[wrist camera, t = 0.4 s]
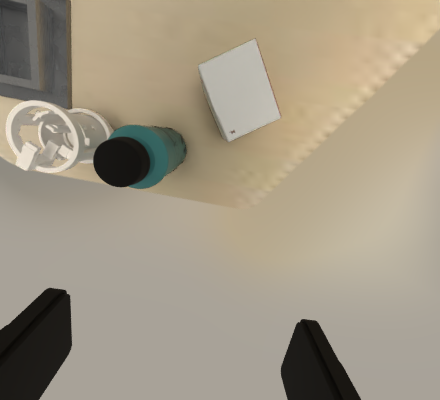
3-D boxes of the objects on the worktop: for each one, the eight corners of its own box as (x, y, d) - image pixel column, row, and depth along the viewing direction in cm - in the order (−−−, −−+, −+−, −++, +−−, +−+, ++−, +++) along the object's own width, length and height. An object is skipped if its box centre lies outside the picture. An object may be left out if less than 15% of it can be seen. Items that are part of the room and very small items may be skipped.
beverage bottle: (180, 173, 37) (145, 216, 18) (143, 157, 36) (64, 185, 17) (194, 137, 36) (172, 143, 17) (156, 119, 35) (84, 105, 16)
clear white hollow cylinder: (77, 140, 35) (-17, 147, 21) (97, 102, 34) (10, 81, 19) (116, 166, 37) (53, 188, 22) (137, 130, 35) (83, 130, 21)
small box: (259, 123, 35) (283, 119, 23) (223, 139, 36) (227, 144, 23) (240, 71, 33) (256, 35, 21) (202, 90, 34) (195, 65, 21)
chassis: (-15, -19, 29) (-55, -45, 25) (70, 1, 30) (46, -21, 26) (-4, 94, 33) (-36, 89, 29) (71, 109, 34) (51, 106, 30)
